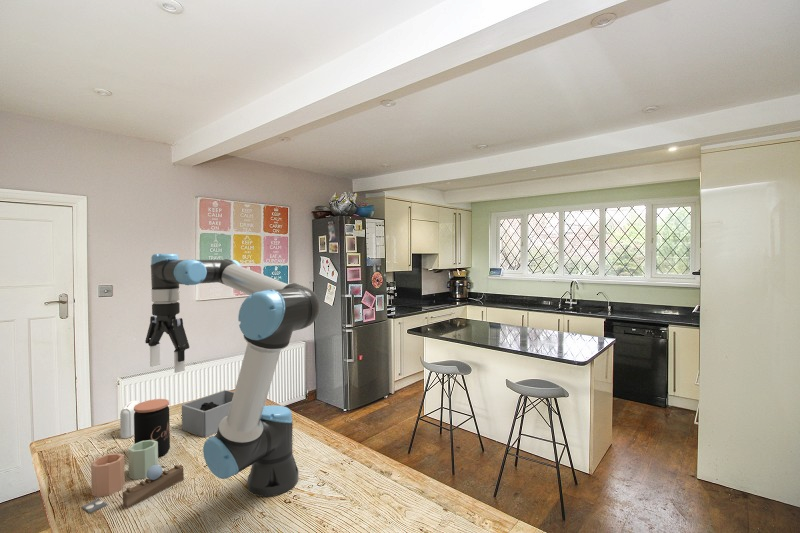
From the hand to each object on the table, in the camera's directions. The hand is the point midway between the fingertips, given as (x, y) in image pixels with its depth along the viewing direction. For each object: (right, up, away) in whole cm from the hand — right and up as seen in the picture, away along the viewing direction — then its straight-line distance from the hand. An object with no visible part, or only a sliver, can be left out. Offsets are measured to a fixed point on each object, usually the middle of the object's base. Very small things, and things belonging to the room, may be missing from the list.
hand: (167, 368), depth 122 cm
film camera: (-4, -34, +38) cm, 52 cm away
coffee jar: (-14, -35, +15) cm, 40 cm away
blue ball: (+1, -31, -8) cm, 32 cm away
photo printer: (-33, -34, +31) cm, 57 cm away
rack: (+1, -35, -8) cm, 36 cm away
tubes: (-11, -35, -5) cm, 37 cm away
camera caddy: (-3, -34, +40) cm, 52 cm away
